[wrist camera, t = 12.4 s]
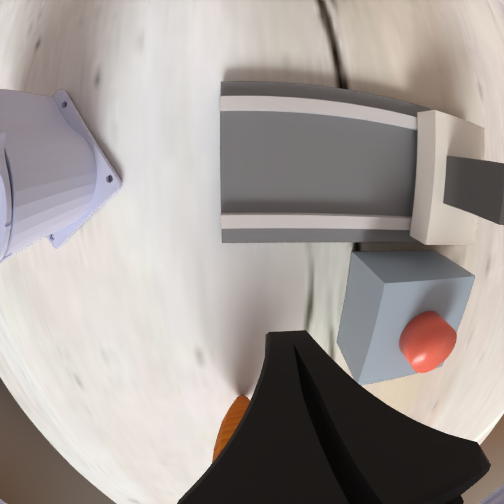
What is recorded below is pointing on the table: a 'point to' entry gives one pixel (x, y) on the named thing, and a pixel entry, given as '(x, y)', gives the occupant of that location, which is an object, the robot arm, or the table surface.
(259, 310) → the table surface
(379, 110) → the rail board
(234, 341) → the table surface
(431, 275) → the blue-grey block
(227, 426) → the carrot
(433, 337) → the button
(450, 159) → the carriage
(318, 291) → the table surface
